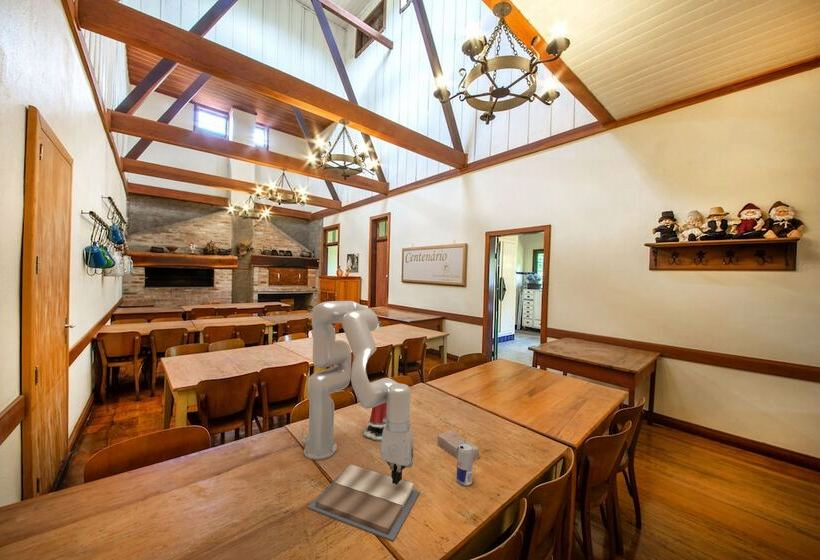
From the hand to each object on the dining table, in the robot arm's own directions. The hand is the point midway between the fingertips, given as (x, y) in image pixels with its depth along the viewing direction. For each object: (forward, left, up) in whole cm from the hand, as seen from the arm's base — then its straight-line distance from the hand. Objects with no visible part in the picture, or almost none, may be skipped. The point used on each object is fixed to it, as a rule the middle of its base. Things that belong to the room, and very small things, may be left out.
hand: (396, 481), depth 97 cm
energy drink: (+19, +16, -4) cm, 25 cm away
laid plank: (-7, -11, -4) cm, 14 cm away
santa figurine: (-23, +34, -4) cm, 41 cm away
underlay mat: (-7, -6, -4) cm, 10 cm away
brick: (+12, +33, -5) cm, 36 cm away
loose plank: (-7, -1, -3) cm, 8 cm away
